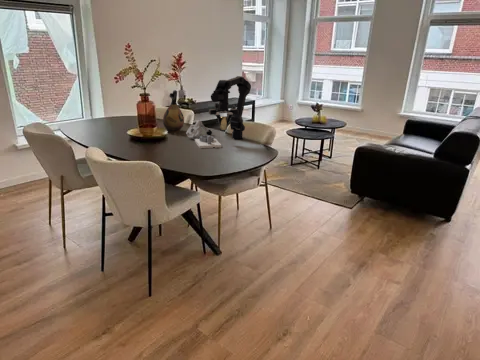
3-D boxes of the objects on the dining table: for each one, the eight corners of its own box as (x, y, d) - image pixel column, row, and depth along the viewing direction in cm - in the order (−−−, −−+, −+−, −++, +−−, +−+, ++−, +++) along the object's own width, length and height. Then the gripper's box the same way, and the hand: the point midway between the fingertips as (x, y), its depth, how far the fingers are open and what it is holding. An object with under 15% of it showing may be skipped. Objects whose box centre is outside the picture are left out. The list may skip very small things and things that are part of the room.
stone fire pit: (215, 140, 235) (215, 131, 233) (221, 147, 219) (221, 137, 217) (194, 141, 231) (194, 131, 229) (199, 148, 215) (199, 138, 213)
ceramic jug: (182, 134, 249) (181, 92, 239) (161, 133, 249) (159, 91, 239) (186, 129, 265) (185, 89, 255) (166, 128, 265) (164, 88, 255)
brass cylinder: (225, 128, 228) (225, 116, 225) (227, 129, 224) (227, 117, 221) (219, 128, 227) (219, 116, 224) (220, 129, 223) (221, 117, 220)
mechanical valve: (183, 134, 237) (194, 116, 239) (196, 147, 251) (206, 130, 254) (193, 138, 231) (204, 120, 234) (206, 150, 245) (217, 133, 248)
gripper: (234, 98, 229) (233, 122, 234) (206, 99, 223) (206, 122, 229) (239, 101, 219) (238, 125, 224) (210, 101, 213) (210, 126, 219)
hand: (223, 124), depth 224 cm, fingers closed on brass cylinder, 4 cm apart
